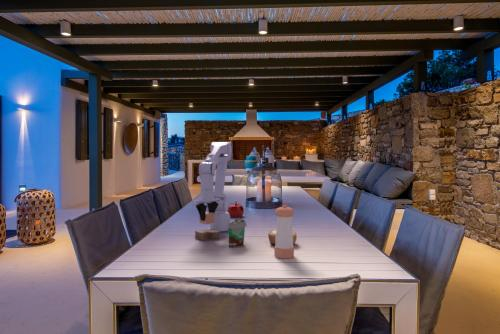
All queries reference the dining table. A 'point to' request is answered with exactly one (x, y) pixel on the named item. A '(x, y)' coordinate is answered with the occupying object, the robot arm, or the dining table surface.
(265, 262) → the dining table surface
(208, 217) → the terracotta cube
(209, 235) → the walnut block
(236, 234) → the food container
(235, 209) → the pomegranate
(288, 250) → the pepper shaker
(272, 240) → the pastry
